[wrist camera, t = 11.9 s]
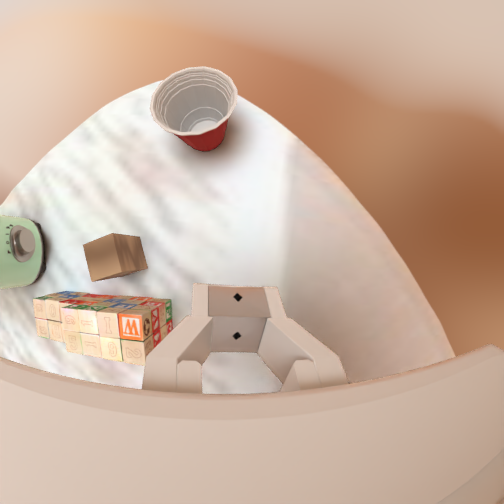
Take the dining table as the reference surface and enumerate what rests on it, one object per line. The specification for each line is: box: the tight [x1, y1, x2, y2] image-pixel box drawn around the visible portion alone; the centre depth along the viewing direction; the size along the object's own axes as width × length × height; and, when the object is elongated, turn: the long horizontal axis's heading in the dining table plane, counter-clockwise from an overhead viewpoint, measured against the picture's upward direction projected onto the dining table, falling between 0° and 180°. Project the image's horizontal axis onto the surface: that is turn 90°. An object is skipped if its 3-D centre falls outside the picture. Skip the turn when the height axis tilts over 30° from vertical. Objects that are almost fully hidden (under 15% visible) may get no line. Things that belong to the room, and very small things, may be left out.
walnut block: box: [83, 233, 148, 282], centre depth 36 cm, size 5×5×9 cm
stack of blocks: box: [33, 291, 173, 365], centre depth 34 cm, size 21×6×12 cm, turn 90°
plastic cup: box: [150, 67, 237, 151], centre depth 34 cm, size 11×11×12 cm
